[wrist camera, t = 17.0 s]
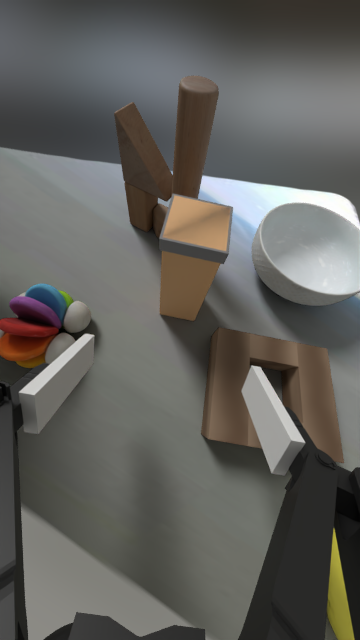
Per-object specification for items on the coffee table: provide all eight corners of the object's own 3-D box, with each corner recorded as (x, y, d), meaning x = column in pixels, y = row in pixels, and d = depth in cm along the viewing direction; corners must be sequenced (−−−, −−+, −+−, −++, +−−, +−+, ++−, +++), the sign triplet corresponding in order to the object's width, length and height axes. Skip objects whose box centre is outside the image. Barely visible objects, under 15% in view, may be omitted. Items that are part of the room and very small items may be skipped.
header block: (201, 433, 22) (208, 439, 19) (211, 336, 27) (218, 327, 24) (317, 454, 23) (344, 463, 20) (307, 355, 28) (327, 348, 24)
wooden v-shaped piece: (141, 212, 35) (128, 43, 19) (193, 239, 34) (228, 84, 17) (129, 224, 34) (103, 53, 17) (183, 252, 32) (211, 98, 16)
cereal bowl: (280, 224, 38) (305, 187, 32) (352, 282, 34) (397, 254, 28) (219, 263, 32) (235, 229, 26) (297, 339, 28) (338, 320, 22)
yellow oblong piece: (310, 626, 17) (350, 683, 14) (310, 512, 21) (342, 535, 17) (356, 640, 17) (407, 701, 14) (348, 524, 21) (388, 549, 17)
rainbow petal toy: (-1, 361, 23) (-65, 344, 16) (40, 293, 27) (3, 257, 20) (69, 378, 23) (34, 369, 17) (100, 308, 27) (82, 277, 20)
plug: (158, 315, 27) (159, 238, 15) (165, 283, 30) (172, 193, 17) (195, 322, 28) (228, 253, 15) (200, 291, 30) (232, 207, 17)
